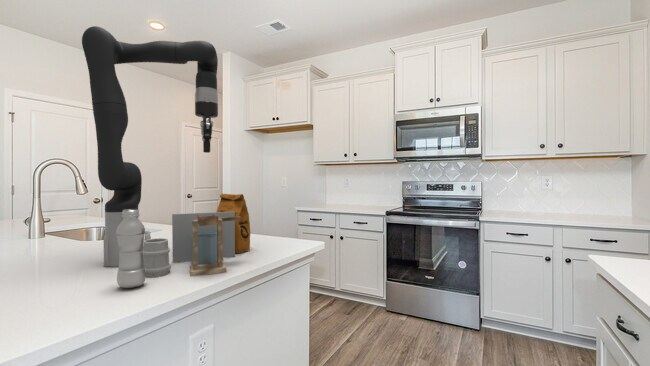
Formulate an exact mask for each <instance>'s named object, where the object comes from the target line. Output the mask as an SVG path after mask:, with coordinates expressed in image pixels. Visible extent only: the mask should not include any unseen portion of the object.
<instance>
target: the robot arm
mask: <svg viewBox="0 0 650 366" xmlns="http://www.w3.org/2000/svg"><path fill="white" fill-rule="evenodd" d="M81 44H82V50H83V53H84V57H85V61H86V65H87V66H86V67H87V70H88V76H89V85H90V86H89V88H90V96H91V104H92V105H91V106H92V114H93V119H94V125H95V126H94V127H95V135H96V143H97V144H96V146H97V177H98V181H99V183H100V185H101V186H102V187H103V188H105V190H108V191H113V194H112V195H113V196H112V197H111V198H110V199H109V200H108V201H107V202H105V204H104V229H105V231H104V235H103V267H104V268H105V267H108V268H109V267H110V268H111V267H112V268H114V267H115V268H116V267H118V268H119V245H118V240H117V234H116V231H117V227H118V226H119V224H120V223H121V222H122V221H123V219H124V217H122V215H123V210H125V209H139V206H140V203H141V200H142V184H143V183H142V181H143V178H142V172H141V170H140V168H139V166H138V165H137V164H135V163H133V162H130V161H129V162H127V161H124V159H123V152H122V142H123V139H124V136H125V133H126V131H127V128H128V124H129V115H128V113H129V112H128V107H127V106H128V105H127V101H126V97H125V94H124V91H123V89H122V87H121V84H120V81H119V79H118V76H117V72H116V65H121V64H122V65H123V64H132V63H133V64H134V63H157V64H158V63H161V64H174V65H185V64H187V63H189V62H196V63H197V66H196V67H197V69H196V70H197V73H196V75H195V94H194V115H195V116H196V117H199V118H202V120H200V128H201V129H200V130H201V131H200V134H201V136H202V138H201V139H202V140H201V141H202V142H203V143H202V144H203V145H202V146H203V148H202V149H203V153H208V154H209V153H211V141H212V136H213V127H214V121H212V119H215V118H218V116H219V97H218V74H217V73H218V66H219V65H218V64H219V63H218V62H219V59H218V54H217V50H216V48H215V45H213V44H212V43H210V42H208V41H205V40H192V41H191V40H190V41H189V40H188V41H183V42H182V41H171V40H153V41H149V42H144V43H128V42H123V41H119V40H117V39H116V38H115V37H114V36H113V34H111V32H109V31H108V30H107V29H105V28H103V27H101V26H97V25H95V26H90V27H87V29H85V30H84V32H83V34H82V36H81Z"/></svg>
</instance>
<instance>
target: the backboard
mask: <svg viewBox="0 0 650 366" xmlns="http://www.w3.org/2000/svg"><path fill="white" fill-rule="evenodd" d="M198 214H199V215H200V216H213V214H215V215H216V216H218V217H235V212H217V211H215V212H195V213H193V212H192V213H190V212H189V213H172V214H171V217H172V218H171V219H172V221H171V223H172V225H171V226H172V229H171V231H172V232H171V235H172V239H171V240H172V244H171V247H172V263H174V264H175V263H184V262H186V261H187V262H191V236H192V235H193V224H192V221H193V220H197V221H198ZM201 233H217V225H206V226H200V225H199V223H198V234H201ZM235 256H236V253H235V220H234V221H223V259H226V258H227V259H228V258H235Z"/></svg>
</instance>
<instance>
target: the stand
mask: <svg viewBox="0 0 650 366" xmlns="http://www.w3.org/2000/svg"><path fill="white" fill-rule="evenodd" d="M192 224H193V266H192V265H189V276H190V277H195V276H203V275H204V276H205V275H211V274H220V273H221V274H222V273H227V266H226V265H225V262H224V261H223V259H224V258H223V220H222V219H221V218H218V225H217V263H212V264H203V265H198V221H197V220H193V221H192Z"/></svg>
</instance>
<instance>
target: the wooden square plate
mask: <svg viewBox="0 0 650 366" xmlns="http://www.w3.org/2000/svg"><path fill="white" fill-rule="evenodd" d="M218 218H221V219H222V220H223V221H234V220H241V217H240V216H235V217H218V216H216V215H215V214H213V216H200V215H199V214H198V223H199V225H200V226H206V225H218Z"/></svg>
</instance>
